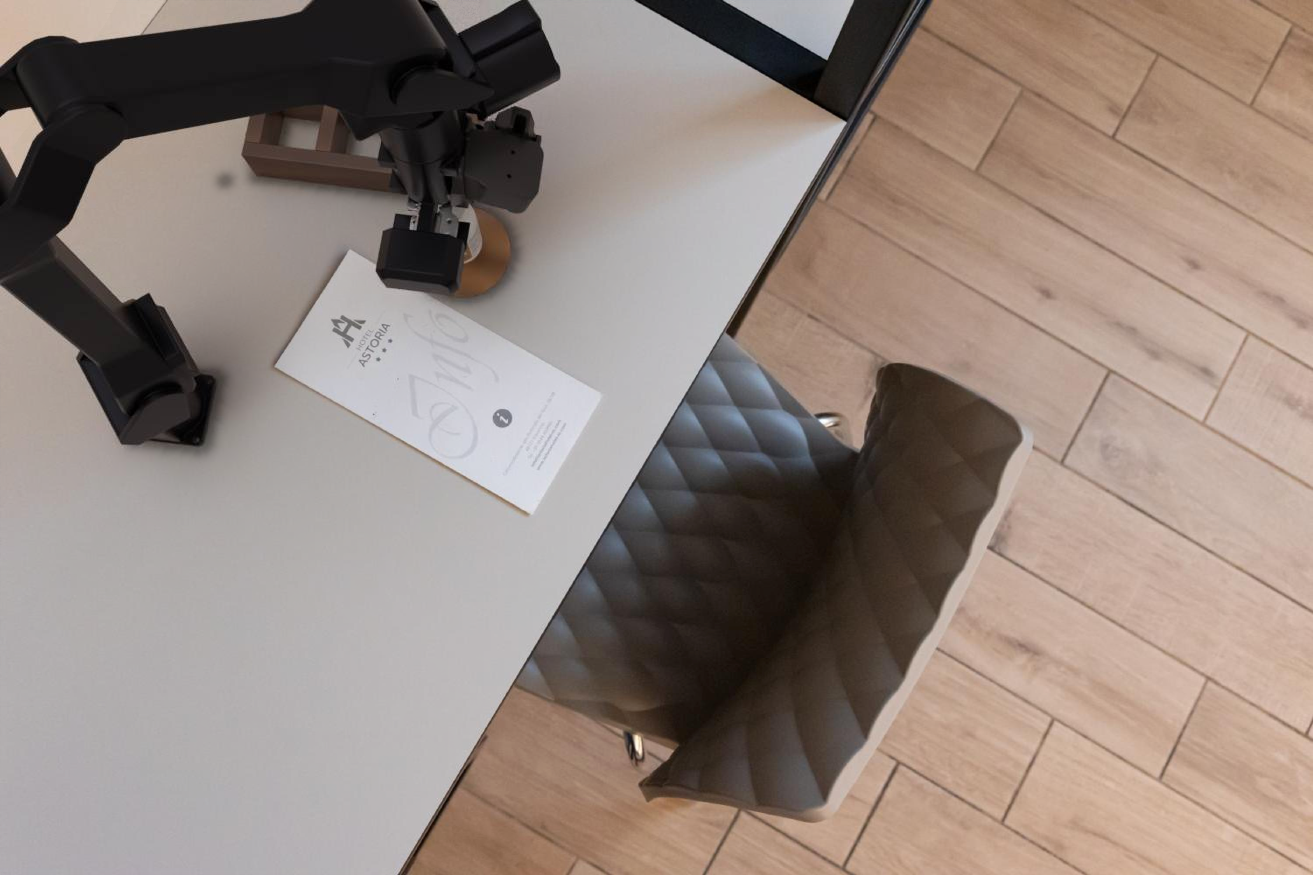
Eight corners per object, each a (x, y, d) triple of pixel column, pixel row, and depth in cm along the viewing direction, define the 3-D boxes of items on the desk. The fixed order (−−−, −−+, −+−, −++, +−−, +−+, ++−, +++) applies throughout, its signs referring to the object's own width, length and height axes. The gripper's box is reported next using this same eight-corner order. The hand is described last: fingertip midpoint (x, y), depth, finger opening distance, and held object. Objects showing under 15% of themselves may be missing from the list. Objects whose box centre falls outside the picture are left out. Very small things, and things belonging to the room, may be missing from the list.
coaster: (503, 303, 91) (503, 301, 91) (406, 291, 91) (406, 289, 91) (517, 214, 93) (516, 212, 93) (422, 202, 93) (421, 200, 93)
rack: (473, 203, 93) (468, 183, 89) (255, 176, 93) (240, 155, 89) (485, 129, 95) (480, 106, 91) (272, 102, 94) (257, 78, 90)
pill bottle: (427, 257, 90) (412, 221, 82) (443, 215, 91) (430, 175, 83) (473, 272, 90) (462, 236, 82) (489, 229, 90) (479, 190, 83)
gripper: (513, 262, 69) (528, 334, 84) (548, 29, 73) (556, 138, 88) (353, 243, 68) (397, 318, 83) (398, 9, 72) (432, 122, 88)
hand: (450, 222), depth 86 cm, fingers closed on pill bottle, 4 cm apart
